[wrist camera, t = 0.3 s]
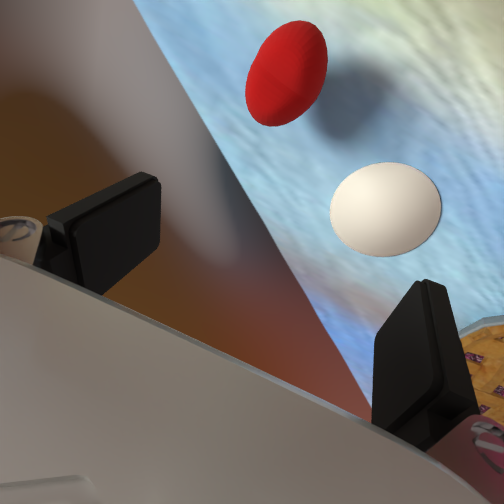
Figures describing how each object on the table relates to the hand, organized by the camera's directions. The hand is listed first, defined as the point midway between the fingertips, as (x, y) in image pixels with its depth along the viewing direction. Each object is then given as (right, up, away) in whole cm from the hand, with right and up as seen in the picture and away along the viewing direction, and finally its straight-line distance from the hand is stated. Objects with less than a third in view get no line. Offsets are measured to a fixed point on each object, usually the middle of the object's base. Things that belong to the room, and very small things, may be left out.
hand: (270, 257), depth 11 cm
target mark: (+16, +5, +28) cm, 33 cm away
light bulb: (+5, +20, +23) cm, 31 cm away
